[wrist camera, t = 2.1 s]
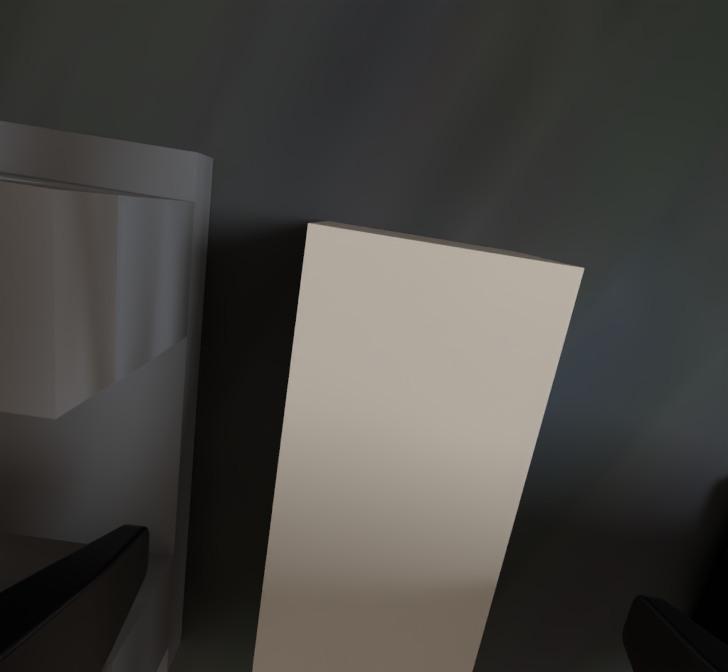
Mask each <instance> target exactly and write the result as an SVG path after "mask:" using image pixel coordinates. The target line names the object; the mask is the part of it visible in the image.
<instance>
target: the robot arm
mask: <svg viewBox="0 0 728 672" xmlns="http://www.w3.org/2000/svg"><path fill="white" fill-rule="evenodd" d="M149 536H150V534H149V529H148V528H147V527H146V526H140V525H133V524H124V525H122V526H120V527H118V528H116V529H114V530H112V531H111V532H109V533H107V534H105V535H103V536H102V537H100V538H98V539H96V540H94V541H92V542H91V543H89V544H87V545H85V546H83V547H81V548H80V549H78V550H76V551H74V552H72V553H70V554H69V555H67V556H65V557H63V558H61V559H60V560H58V561H56V562H54V563H52V564H50V565H49V566H47V567H45V568H43V569H41V570H39V571H38V572H36V573H34V574H32V575H30V576H28V577H27V578H25V579H23V580H21V581H19V582H17V583H16V584H14V585H12V586H10V587H8V588H7V589H5V590H3V591H1V592H0V672H101V671H102V669H103V667H104V665H105V663H106V661H107V659H108V657H109V655H110V653H111V651H112V648H113V646H114V644H115V642H116V640H117V638H118V635H119V633H120V631H121V629H122V627H123V625H124V622H125V620H126V618H127V616H128V614H129V612H130V609H131V607H132V605H133V603H134V601H135V599H136V596H137V594H138V592H139V590H140V588H141V586H142V583H143V581H144V579H145V576H146V573H147V569H148V560H149ZM623 643H624V646H625V649H626V652H627V655H628V658H629V660H630V663H631V666H632V669H633V671H634V672H728V533H727V535H726V538H725V540H724V543H723V545H722V548H721V550H720V553H719V555H718V557H717V560H716V562H715V565H714V567H713V570H712V572H711V575H710V577H709V580H708V582H707V584H706V587H705V589H704V592H703V594H702V597H701V599H700V602H699V604H698V606H697V609H696V611H695V614H694V616H693V619H692V620H691V619H690V618H688V617H687V616H686V615H684V614H683V613H681V612H680V611H679V610H677V609H676V608H674V607H673V606H672V605H670V604H669V603H667V602H666V601H665V600H663V599H661V598H658V597H651V596H644V595H640V596H637V597H636V598H635V599H634V601H633V603H632V606H631V608H630V611H629V614H628V617H627V620H626V622H625V625H624V628H623Z"/></svg>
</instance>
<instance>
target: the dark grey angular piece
mask: <svg viewBox="0 0 728 672" xmlns="http://www.w3.org/2000/svg"><path fill="white" fill-rule="evenodd" d="M212 172H213V158H211V157H208V156H205V155H203V154H200V153H197V152H191V151H185V150H179V149H172V148H166V147H160V146H154V145H148V144H141V143H135V142H129V141H123V140H117V139H110V138H104V137H98V136H92V135H86V134H79V133H73V132H67V131H61V130H54V129H48V128H42V127H36V126H30V125H23V124H17V123H11V122H5V121H0V592H1V591H3V590H5V589H7V588H8V587H10V586H12V585H14V584H16V583H17V582H19V581H21V580H23V579H25V578H27V577H28V576H30V575H32V574H34V573H36V572H38V571H39V570H41V569H43V568H45V567H47V566H49V565H50V564H52V563H54V562H56V561H58V560H60V559H61V558H63V557H65V556H67V555H69V554H70V553H72V552H74V551H76V550H78V549H80V548H81V547H83V546H85V545H87V544H89V543H91V542H92V541H94V540H96V539H98V538H100V537H102V536H103V535H105V534H107V533H109V532H111V531H112V530H114V529H116V528H118V527H120V526H122V525H124V524H133V525H140V526H146V527H147V528H148V529H149V534H150V536H149V560H148V569H147V573H146V576H145V579H144V581H143V583H142V586H141V588H140V590H139V592H138V594H137V596H136V599H135V601H134V603H133V605H132V607H131V609H130V612H129V614H128V616H127V618H126V620H125V622H124V625H123V627H122V629H121V631H120V633H119V635H118V638H117V640H116V642H115V644H114V646H113V648H112V651H111V653H110V655H109V657H108V659H107V661H106V663H105V665H104V667H103V669H102V671H101V672H168V670H169V668H170V666H171V664H172V661H173V659H174V657H175V655H176V652H177V650H178V648H179V646H180V643H181V633H182V618H183V603H184V588H185V573H186V558H187V543H188V528H189V514H190V499H191V484H192V469H193V454H194V439H195V424H196V409H197V395H198V380H199V365H200V350H201V335H202V320H203V305H204V291H205V276H206V261H207V246H208V231H209V216H210V201H211V186H212Z"/></svg>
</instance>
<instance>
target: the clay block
mask: <svg viewBox="0 0 728 672" xmlns="http://www.w3.org/2000/svg"><path fill="white" fill-rule="evenodd" d="M583 272H584V268H582V267H578V266H573V265H569V264H565V263H561V262H556V261H552V260H548V259H544V258H539V257H535V256H531V255H527V254H522V253H518V252H514V251H508V250H502V249H496V248H490V247H484V246H477V245H471V244H465V243H459V242H453V241H447V240H441V239H435V238H428V237H422V236H416V235H410V234H404V233H398V232H392V231H386V230H380V229H373V228H367V227H361V226H355V225H349V224H343V223H337V222H331V221H324V222H314V223H308V228H307V236H306V244H305V252H304V260H303V268H302V276H301V284H300V292H299V300H298V308H297V316H296V324H295V332H294V340H293V348H292V356H291V364H290V372H289V380H288V389H287V397H286V405H285V413H284V421H283V429H282V437H281V445H280V453H279V461H278V469H277V477H276V485H275V493H274V501H273V509H272V517H271V525H270V533H269V541H268V549H267V557H266V565H265V573H264V581H263V589H262V597H261V605H260V613H259V621H258V629H257V637H256V645H255V653H254V661H253V669H252V672H472V671H473V668H474V664H475V660H476V657H477V653H478V650H479V646H480V642H481V639H482V635H483V632H484V628H485V624H486V621H487V617H488V614H489V610H490V606H491V603H492V599H493V596H494V592H495V588H496V585H497V581H498V578H499V574H500V570H501V567H502V563H503V560H504V556H505V552H506V549H507V545H508V542H509V538H510V534H511V531H512V527H513V524H514V520H515V516H516V513H517V509H518V506H519V502H520V498H521V495H522V491H523V488H524V484H525V480H526V477H527V473H528V470H529V466H530V462H531V459H532V455H533V452H534V448H535V444H536V441H537V437H538V434H539V430H540V426H541V423H542V419H543V416H544V412H545V408H546V405H547V401H548V398H549V394H550V390H551V387H552V383H553V380H554V376H555V372H556V369H557V365H558V362H559V358H560V354H561V351H562V347H563V344H564V340H565V336H566V333H567V329H568V326H569V322H570V318H571V315H572V311H573V308H574V304H575V300H576V297H577V293H578V290H579V286H580V282H581V279H582V275H583Z"/></svg>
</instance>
